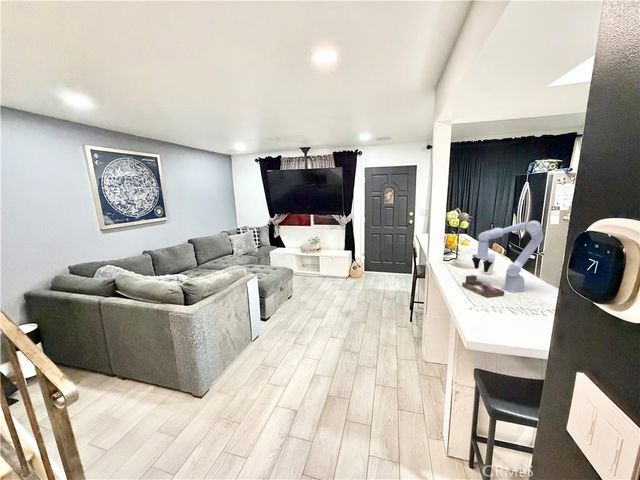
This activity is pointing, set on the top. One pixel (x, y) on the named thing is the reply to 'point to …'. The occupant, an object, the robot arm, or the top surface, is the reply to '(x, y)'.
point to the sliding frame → (473, 281)
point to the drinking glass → (491, 264)
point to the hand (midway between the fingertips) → (481, 270)
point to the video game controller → (489, 287)
